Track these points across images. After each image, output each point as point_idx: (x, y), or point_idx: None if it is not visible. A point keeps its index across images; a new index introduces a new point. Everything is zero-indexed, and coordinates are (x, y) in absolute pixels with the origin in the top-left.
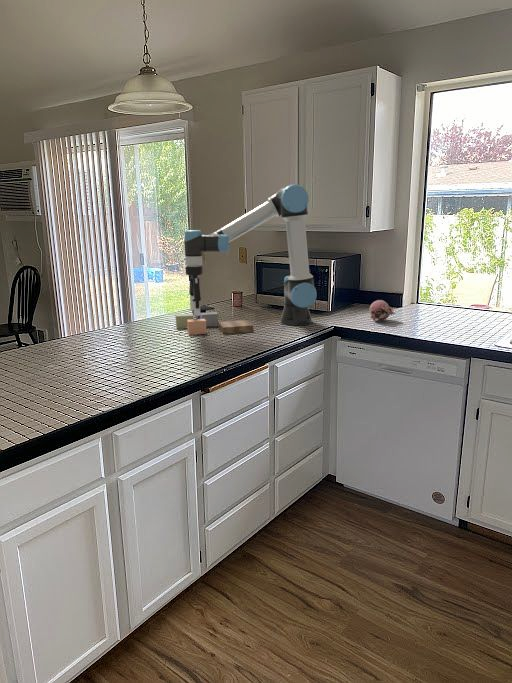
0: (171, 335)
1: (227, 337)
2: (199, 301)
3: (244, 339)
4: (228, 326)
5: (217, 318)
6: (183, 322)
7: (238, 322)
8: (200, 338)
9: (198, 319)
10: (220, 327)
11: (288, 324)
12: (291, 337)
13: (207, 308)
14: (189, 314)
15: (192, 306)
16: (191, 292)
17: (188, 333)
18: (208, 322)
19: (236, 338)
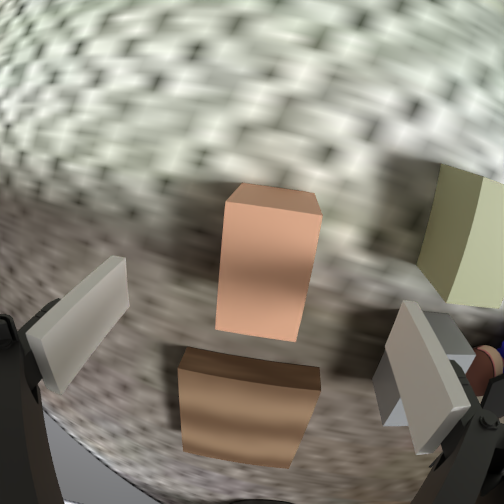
0: (270, 74)
1: (120, 335)
2: (46, 379)
3: (84, 366)
4: (191, 393)
5: (380, 403)
6: (448, 215)
7: (260, 442)
8: (130, 222)
9: (287, 299)
10: (253, 371)
11: (240, 501)
12: (99, 448)
13: (495, 401)
14: (487, 287)
15: (405, 338)
16: (447, 466)
17: (270, 187)
18: None
19: (100, 354)
